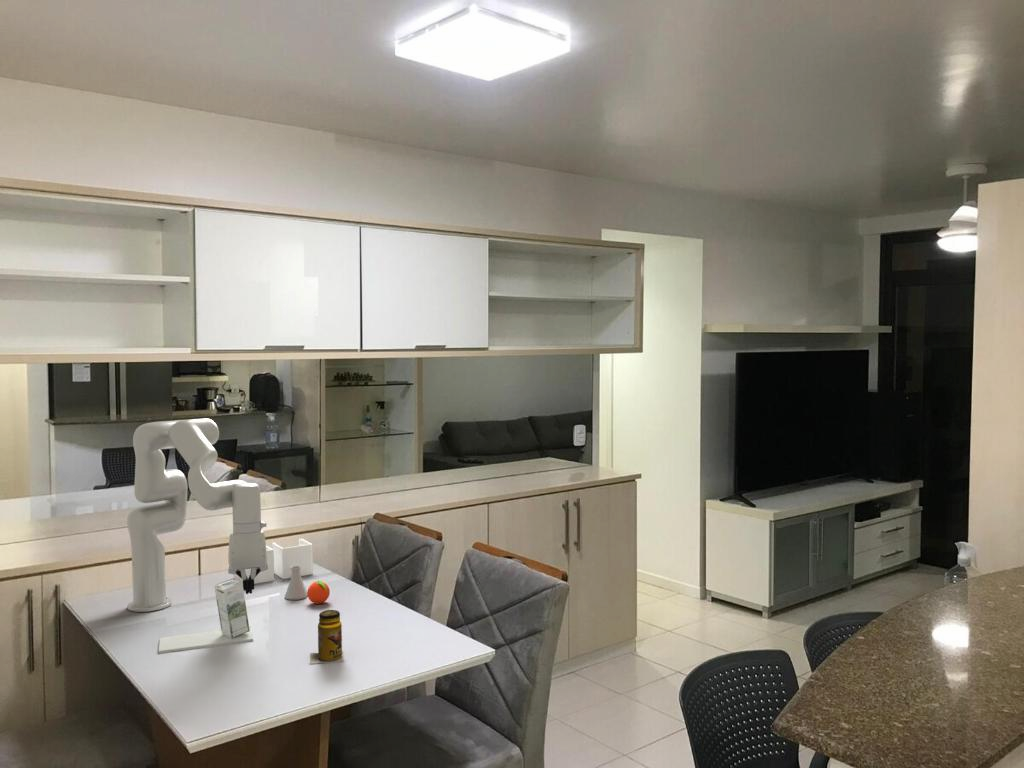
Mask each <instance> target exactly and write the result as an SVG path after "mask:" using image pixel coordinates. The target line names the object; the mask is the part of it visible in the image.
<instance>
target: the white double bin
mask: <svg viewBox="0 0 1024 768" xmlns="http://www.w3.org/2000/svg"><path fill="white" fill-rule="evenodd" d="M313 549H314V548H313V543H311V542H309V541H307V540H306V539H304V538H298V545H295V546H289V547H282V546H280V545H278V544H277V543H276V542H275V541H274V542H272V543H271V547H269V546H268V545H266V551H267V566H268V569H267V570H265V571H262V572H260V573H259V574H258V575H257V576H256V577H255V579H254V585H256V584H261V583H266V582H267V583H268V582H273V581H275V575H276V576H277V577H279V578H280V579H282V580H284V579H285V580H286V579H291V574H292V570H291V568H290V567H292V566H301V568H300V573H301V577H303V576H309V575H314V561H313V560H314V558H313V557H314V555H313V554H314V553H313ZM245 572H246V575H247V577H248V578H249V575H250V572H251V569H245ZM232 576H233V577H232V580H236V581H238V582H240V583H242V584H243V580H242V578H240V577H239V576H238V575H236V574H232Z"/></svg>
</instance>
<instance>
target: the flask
mask: <svg viewBox="0 0 1024 768" xmlns="http://www.w3.org/2000/svg"><path fill="white" fill-rule="evenodd" d="M290 568H291V570H292V574H291V578H290V580H289V583H288V587H287V589H286V592H285V595H284V599H287V600H289V601H292V600H293V601H294V600H296V601H298V600H302V599H305V598H308V595H307V592H308V589H306V586H305V583H304V582H303V579H302V576H301V573H300V568H301V566H292V567H290Z"/></svg>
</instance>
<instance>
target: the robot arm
mask: <svg viewBox="0 0 1024 768" xmlns="http://www.w3.org/2000/svg"><path fill="white" fill-rule="evenodd" d="M132 436H133V437H132V446H133V449H134V455H135V465H134V466H135V467H134V469H135V470H134V485H133V486H134V488H133V489H134V498H135V499H136V501H138V503H143V504H148V505H145V506H140V507H137V508H134V509H133V510H132V511H130V512H129V514H128V516H127V518H126V519H127V520H126V524H127V530H128V533H129V539H130V548H131V550H130V552H131V573H132V574H131V577H132V601H131V602H129V603H128V604H127V609H128V610H129V611H130V612H136V613H145V612H147V613H148V612H155V611H158V610H162V609H163V610H164V609H165V608H168V607H169V606H171V605H172V599H171V598H170V597H167V588H166V587H167V586H166V585H167V584H166V583H167V581H166V579H167V578H166V555H165V553H166V551H165V547H164V544H163V543H162V542H161V541H160V540H159V538H158V536H159V535H163V534H168V533H173V532H176V531H177V532H178V531H179V530H181V529H182V528H183V527H184V525H185V523H186V518H187V508H188V507H187V506H188V503H187V502H188V488H189V492H190V494H191V496H192V497H193V498H194V499H195V501H196V502H197V503H198V504H199V505H200V507H202V508H203V510H205V511H206V510H207V511H211V512H212V511H217V510H222V509H223V510H224V509H227V508H232V532H231V533H230V534H229V540H228V569H227V572H228V574H230V575H233V574H236V575H238V576H239V577H240V578H242V580H243V589H244V592H245V595H248V594H253V590H255V584H254V579H255V577H256V576H257V575H258V574H259V573H260V572H262V571H265V570H267V569H268V566H267V551H266V546H267V542H266V536H265V531H264V530H263V528H267V522H266V521H262V511H261V508H262V507H261V506H262V504H261V487H260V485H259V484H257V483H254V482H246V481H244V480H241V479H232V480H224V481H219V482H214V483H213V482H212V483H210V482H209V480H207V478H206V477H205V475H204V473H205V472H207V471H209V470H210V469H211V468H212V467H213V466H214V465H215V463H216V462H217V459H218V455H219V454H218V452H217V450H216V448H215V447H214V446H213V445H215V444H216V443H217V442H218V440H219V437H220V430H219V427H218V425H217V423H216V422H214V420H212V419H210V418H206V417H205V418H203V417H202V418H193V419H177V420H176V419H175V420H163V421H153V422H146V423H143V424H141V425H139V426H138V427H137V428H136V429H135V431H134V432H133V435H132ZM167 449H168V450H169V449H176V450H177V451H178V453H179V454H180V456H181V457H182V458H183V459H184V461H185V463H187V464H186V465H188V466H189V470H188V473H187V478H186V475H185V474H184V473H183V472H182V471H181V470H180V469H177V468H176V469H175V468H171V469H166V457H165V454H164V453H163V450H167ZM162 501H165V502H164V503H157V504H156V502H162ZM149 503H151V504H150V505H149ZM152 503H155V504H152ZM245 569H251V572H250V575H249V578H248V577H247V575H246V572H245Z"/></svg>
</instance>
